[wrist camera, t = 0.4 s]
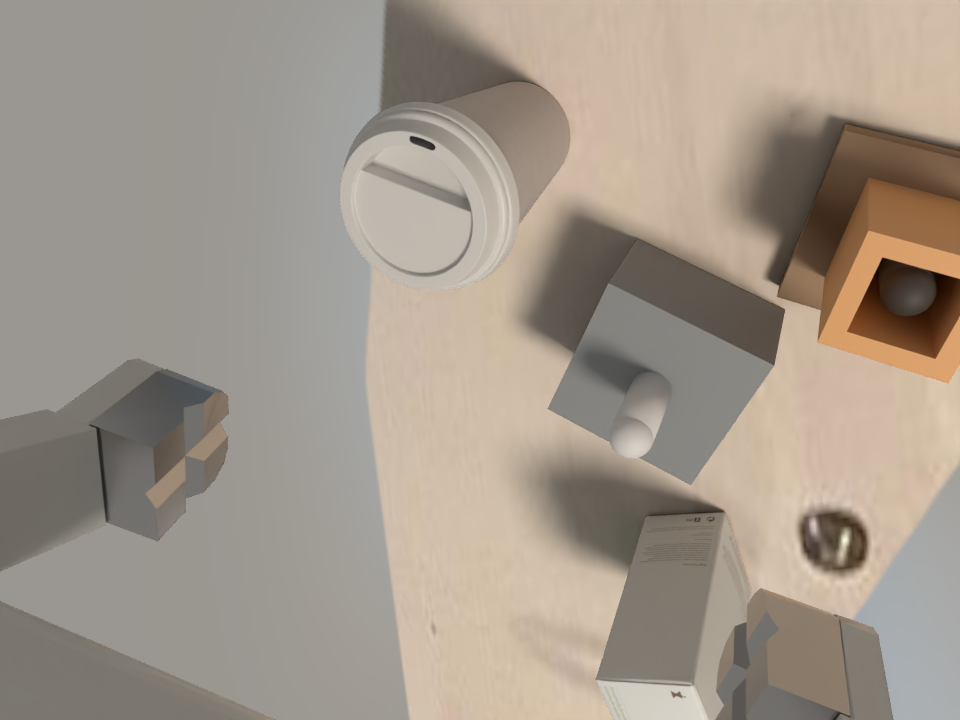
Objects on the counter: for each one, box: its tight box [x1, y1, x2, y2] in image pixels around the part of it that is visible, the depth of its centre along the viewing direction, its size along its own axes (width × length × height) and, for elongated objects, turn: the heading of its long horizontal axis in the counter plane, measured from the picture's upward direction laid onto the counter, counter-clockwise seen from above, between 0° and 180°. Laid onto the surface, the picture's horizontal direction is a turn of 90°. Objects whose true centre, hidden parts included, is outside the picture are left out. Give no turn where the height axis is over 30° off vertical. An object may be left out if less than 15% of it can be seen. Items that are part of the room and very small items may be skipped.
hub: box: [548, 238, 785, 485], centre depth 46 cm, size 10×10×13 cm
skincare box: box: [595, 512, 751, 720], centre depth 53 cm, size 8×7×16 cm
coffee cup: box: [340, 81, 570, 290], centre depth 43 cm, size 10×10×15 cm
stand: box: [777, 124, 960, 316], centre depth 39 cm, size 10×10×9 cm
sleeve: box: [818, 178, 960, 383], centre depth 39 cm, size 6×6×8 cm
